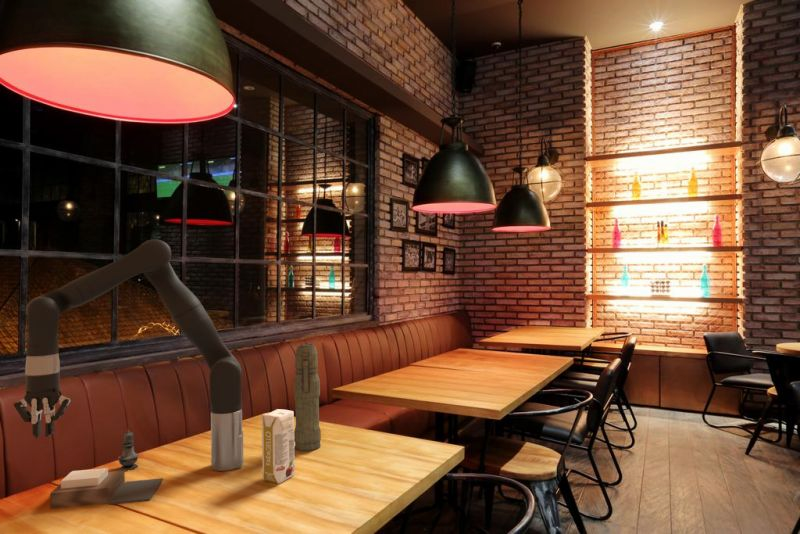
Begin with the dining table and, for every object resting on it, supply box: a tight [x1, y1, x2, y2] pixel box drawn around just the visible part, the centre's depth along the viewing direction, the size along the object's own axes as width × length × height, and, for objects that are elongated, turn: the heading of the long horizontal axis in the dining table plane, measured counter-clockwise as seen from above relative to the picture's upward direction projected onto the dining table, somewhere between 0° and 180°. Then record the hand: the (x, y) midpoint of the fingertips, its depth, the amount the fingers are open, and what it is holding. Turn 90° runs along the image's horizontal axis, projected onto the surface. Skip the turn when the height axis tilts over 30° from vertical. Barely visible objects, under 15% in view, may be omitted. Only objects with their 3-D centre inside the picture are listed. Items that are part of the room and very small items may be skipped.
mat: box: [108, 477, 164, 505], centre depth 142 cm, size 10×14×1 cm
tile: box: [60, 467, 109, 489], centre depth 139 cm, size 9×7×2 cm
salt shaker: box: [117, 429, 140, 472], centre depth 160 cm, size 6×6×12 cm
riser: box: [49, 470, 126, 510], centre depth 139 cm, size 14×12×4 cm
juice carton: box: [261, 408, 296, 484], centre depth 150 cm, size 8×9×19 cm
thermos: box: [293, 343, 322, 453], centre depth 176 cm, size 9×12×35 cm
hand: (43, 436), depth 137 cm, fingers closed
